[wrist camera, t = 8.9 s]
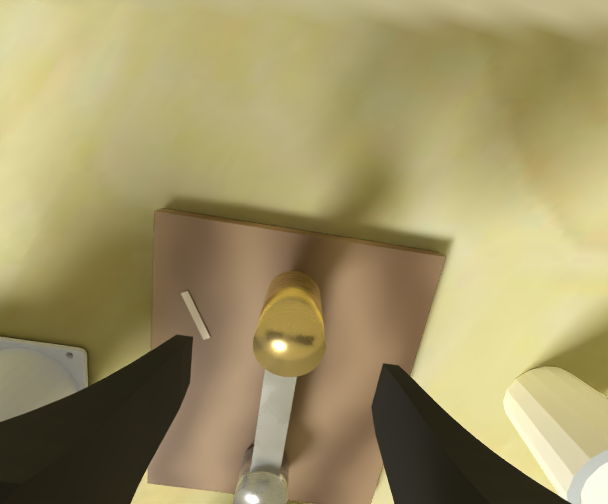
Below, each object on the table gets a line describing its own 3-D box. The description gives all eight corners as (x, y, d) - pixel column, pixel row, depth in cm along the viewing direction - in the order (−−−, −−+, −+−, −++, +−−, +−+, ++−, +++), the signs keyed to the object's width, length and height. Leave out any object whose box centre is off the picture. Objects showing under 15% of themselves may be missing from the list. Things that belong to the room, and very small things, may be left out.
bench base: (154, 469, 26) (146, 484, 25) (163, 208, 20) (153, 211, 19) (366, 495, 27) (369, 511, 26) (437, 251, 21) (446, 257, 19)
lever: (239, 477, 24) (214, 601, 18) (269, 254, 19) (249, 307, 12) (285, 483, 24) (278, 608, 18) (327, 263, 19) (339, 320, 13)
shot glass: (519, 349, 23) (608, 429, 16) (604, 370, 23) (725, 456, 17) (480, 423, 25) (546, 521, 18) (559, 440, 25) (652, 543, 18)
